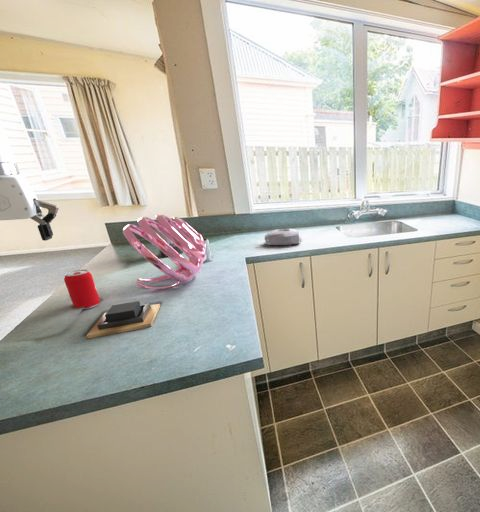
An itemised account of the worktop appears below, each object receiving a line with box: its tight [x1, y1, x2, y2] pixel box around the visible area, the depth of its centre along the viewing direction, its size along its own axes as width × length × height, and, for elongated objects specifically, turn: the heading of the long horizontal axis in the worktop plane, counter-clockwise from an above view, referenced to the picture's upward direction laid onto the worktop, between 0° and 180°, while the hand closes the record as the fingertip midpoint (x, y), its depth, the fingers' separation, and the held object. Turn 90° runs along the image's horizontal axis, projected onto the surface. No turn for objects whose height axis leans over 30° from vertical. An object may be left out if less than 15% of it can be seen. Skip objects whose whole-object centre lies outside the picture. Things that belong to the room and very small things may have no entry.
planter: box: [198, 238, 213, 263], centre depth 139 cm, size 4×4×10 cm
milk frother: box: [153, 227, 191, 258], centre depth 151 cm, size 14×16×15 cm
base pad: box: [86, 303, 161, 340], centre depth 88 cm, size 14×14×2 cm
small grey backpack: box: [263, 228, 301, 246], centre depth 171 cm, size 15×8×20 cm
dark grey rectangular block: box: [105, 300, 142, 322], centre depth 87 cm, size 6×6×4 cm
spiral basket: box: [122, 214, 207, 291], centre depth 111 cm, size 28×28×27 cm
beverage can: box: [63, 269, 101, 311], centre depth 95 cm, size 6×6×12 cm
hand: (21, 241), depth 74 cm, fingers open, 9 cm apart
